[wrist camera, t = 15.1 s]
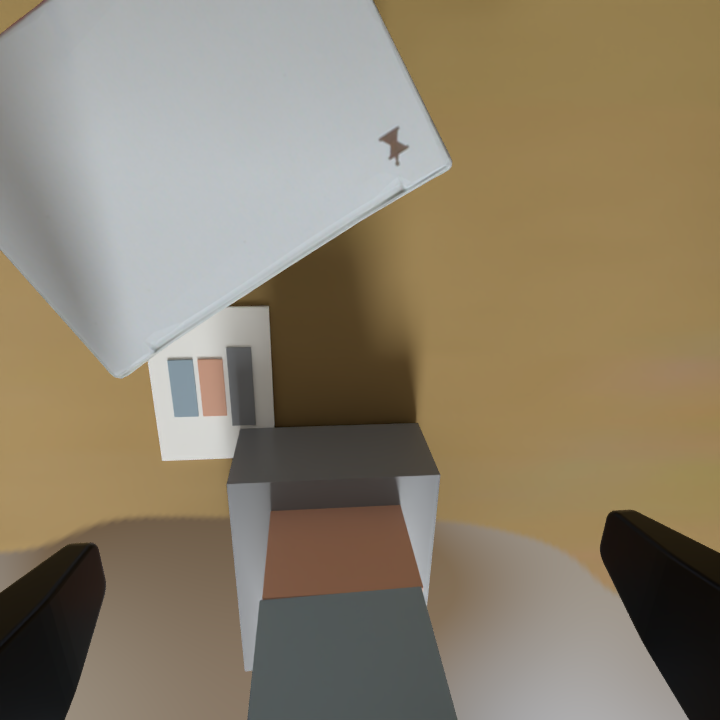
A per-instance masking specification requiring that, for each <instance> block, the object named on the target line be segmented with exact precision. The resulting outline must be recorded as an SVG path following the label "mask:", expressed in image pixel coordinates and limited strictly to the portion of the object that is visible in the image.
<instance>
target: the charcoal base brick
mask: <svg viewBox="0 0 720 720" xmlns="http://www.w3.org/2000/svg"><path fill="white" fill-rule="evenodd" d="M439 482H440V473H439V471H438V468H437V466H436V464H435V461H434V459H433V457H432V455H431V452H430V450H429V448H428V445H427V443H426V441H425V438H424V436H423V434H422V431H421V429H420V427H419V424H418V423H403V424H372V425H341V426H310V427H279V428H248V429H240V431H239V436H238V440H237V444H236V448H235V452H234V456H233V460H232V465H231V469H230V473H229V477H228V481H227V492H228V502H229V512H230V523H231V533H232V543H233V553H234V564H235V574H236V584H237V595H238V605H239V616H240V626H241V636H242V646H243V657H244V667H245V671H253V661H254V651H255V641H256V631H257V622H258V612H259V602H260V600H262V595H263V585H264V575H265V564H266V554H267V544H268V534H269V523H270V513H271V511H283V510H304V509H325V508H346V507H367V506H388V505H401V509H402V512H403V516H404V519H405V523H406V527H407V530H408V534H409V537H410V541H411V545H412V548H413V552H414V555H415V559H416V563H417V566H418V570H419V573H420V577H421V581H422V584H423V595H424V599H425V603H426V606H427V600H428V590H429V580H430V569H431V561H432V551H433V541H434V531H435V521H436V512H437V502H438V492H439Z"/></svg>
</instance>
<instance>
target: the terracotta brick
mask: <svg viewBox="0 0 720 720" xmlns="http://www.w3.org/2000/svg"><path fill="white" fill-rule="evenodd" d="M420 586H421V588H422V592H423V584H422V581H421V577H420V573H419V570H418V566H417V563H416V559H415V555H414V552H413V548H412V545H411V541H410V537H409V534H408V530H407V527H406V523H405V519H404V516H403V512H402V509H401V505H388V506H367V507H346V508H325V509H304V510H283V511H271V513H270V523H269V534H268V544H267V554H266V564H265V575H264V585H263V595H262V600H269V599H281V598H293V597H304V596H316V595H327V594H339V593H350V592H362V591H374V590H385V589H397V588H408V587H420Z"/></svg>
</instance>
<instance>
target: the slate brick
mask: <svg viewBox="0 0 720 720" xmlns="http://www.w3.org/2000/svg"><path fill="white" fill-rule="evenodd" d="M248 720H457V716H456V712H455V709H454V705H453V701H452V698H451V694H450V690H449V687H448V684H447V680H446V676H445V672H444V669H443V665H442V661H441V658H440V654H439V650H438V647H437V643H436V639H435V636H434V632H433V628H432V625H431V621H430V618H429V614H428V610H427V606H426V603H425V599H424V595H423V592H422V588H421V586H420V587H408V588H397V589H385V590H374V591H362V592H350V593H339V594H327V595H316V596H304V597H293V598H281V599H269V600H260V602H259V612H258V622H257V631H256V641H255V651H254V661H253V671H252V680H251V691H250V700H249V710H248Z"/></svg>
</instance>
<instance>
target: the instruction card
mask: <svg viewBox="0 0 720 720" xmlns="http://www.w3.org/2000/svg"><path fill="white" fill-rule="evenodd" d="M148 366H149V373H150V380H151V387H152V394H153V400H154V407H155V414H156V421H157V428H158V435H159V442H160V449H161V456H162V461H170V460H196V459H221V458H233V456H234V452H235V448H236V444H237V440H238V436H239V431H240V429H248V428H275V422H274V401H273V381H272V360H271V339H270V318H269V306H228V307H226V308H225V309H223V310H222V311H220V312H218V313H217V314H215V315H214V316H212V317H211V318H209V319H208V320H206V321H205V322H203V323H202V324H200V325H199V326H197V327H196V328H194V329H193V330H191V331H190V332H188V333H187V334H185V335H184V336H182V337H181V338H179V339H178V340H176V341H175V342H173V343H172V344H170V345H169V346H167V347H166V348H165V349H163V350H162V351H161V352H159V353H158V354H156V355H155V356H154V357H152V358H151V359H150V360H148Z"/></svg>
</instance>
